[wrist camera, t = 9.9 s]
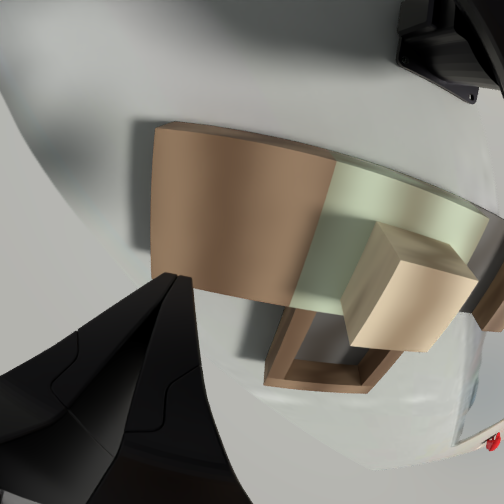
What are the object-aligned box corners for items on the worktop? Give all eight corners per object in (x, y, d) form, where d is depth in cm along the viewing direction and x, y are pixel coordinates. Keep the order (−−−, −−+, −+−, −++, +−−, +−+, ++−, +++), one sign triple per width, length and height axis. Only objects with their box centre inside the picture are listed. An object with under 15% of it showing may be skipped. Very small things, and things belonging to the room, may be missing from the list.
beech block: (449, 244, 15) (478, 281, 12) (409, 311, 18) (426, 352, 15) (376, 221, 15) (400, 259, 11) (339, 299, 18) (350, 345, 15)
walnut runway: (534, 237, 17) (550, 253, 14) (441, 372, 28) (447, 390, 25) (174, 121, 16) (155, 127, 13) (167, 340, 27) (158, 363, 24)
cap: (491, 446, 55) (502, 445, 50) (484, 453, 54) (496, 453, 49) (492, 430, 59) (503, 429, 53) (485, 437, 57) (496, 437, 52)
